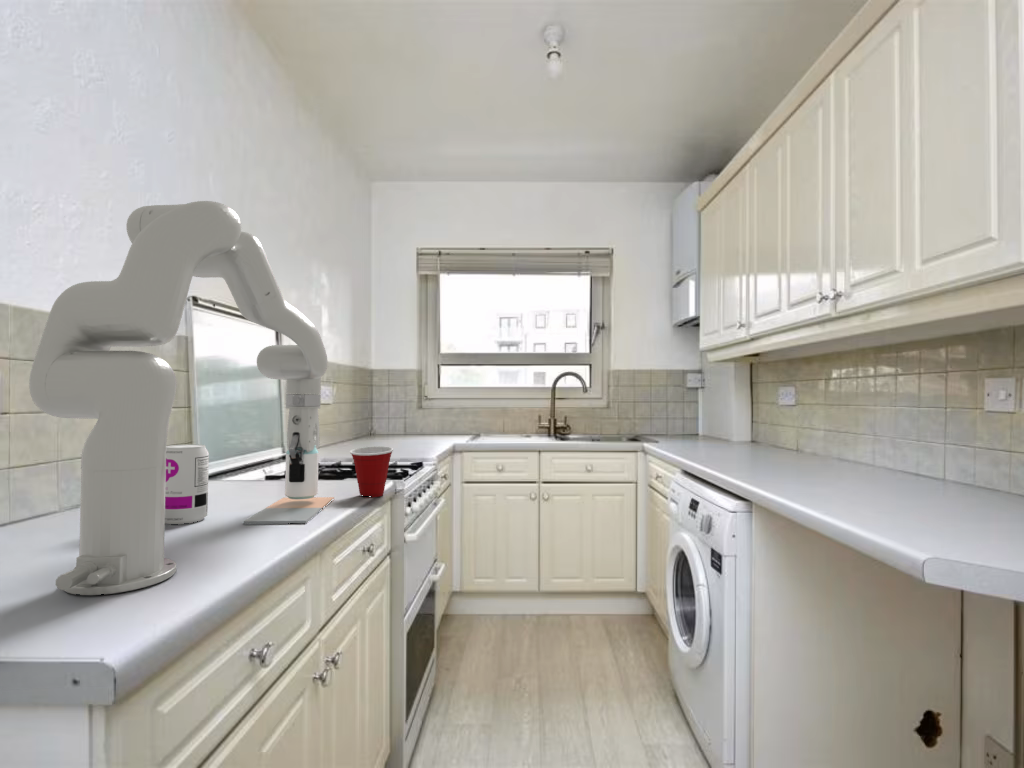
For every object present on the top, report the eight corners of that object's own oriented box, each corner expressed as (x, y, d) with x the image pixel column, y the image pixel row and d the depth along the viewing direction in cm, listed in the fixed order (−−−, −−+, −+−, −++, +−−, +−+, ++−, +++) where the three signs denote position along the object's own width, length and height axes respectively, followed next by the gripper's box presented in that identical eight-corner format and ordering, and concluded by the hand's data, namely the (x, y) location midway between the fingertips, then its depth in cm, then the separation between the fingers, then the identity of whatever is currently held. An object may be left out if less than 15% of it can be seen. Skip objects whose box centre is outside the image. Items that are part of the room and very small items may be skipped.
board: (306, 523, 106) (306, 520, 106) (243, 524, 105) (243, 521, 105) (334, 499, 130) (334, 497, 130) (283, 500, 129) (283, 497, 129)
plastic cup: (340, 498, 132) (340, 449, 132) (364, 490, 142) (365, 445, 143) (378, 501, 129) (379, 451, 129) (400, 493, 139) (401, 447, 139)
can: (317, 499, 121) (318, 446, 121) (283, 500, 119) (285, 446, 119) (317, 493, 128) (318, 443, 128) (286, 495, 125) (287, 444, 126)
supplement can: (169, 527, 102) (171, 449, 102) (153, 520, 107) (154, 446, 107) (214, 519, 108) (216, 446, 109) (196, 513, 113) (198, 443, 114)
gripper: (309, 402, 115) (307, 485, 115) (329, 402, 133) (327, 473, 132) (273, 402, 115) (271, 485, 114) (297, 401, 132) (296, 474, 132)
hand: (301, 478), depth 123 cm, fingers closed on can, 6 cm apart
